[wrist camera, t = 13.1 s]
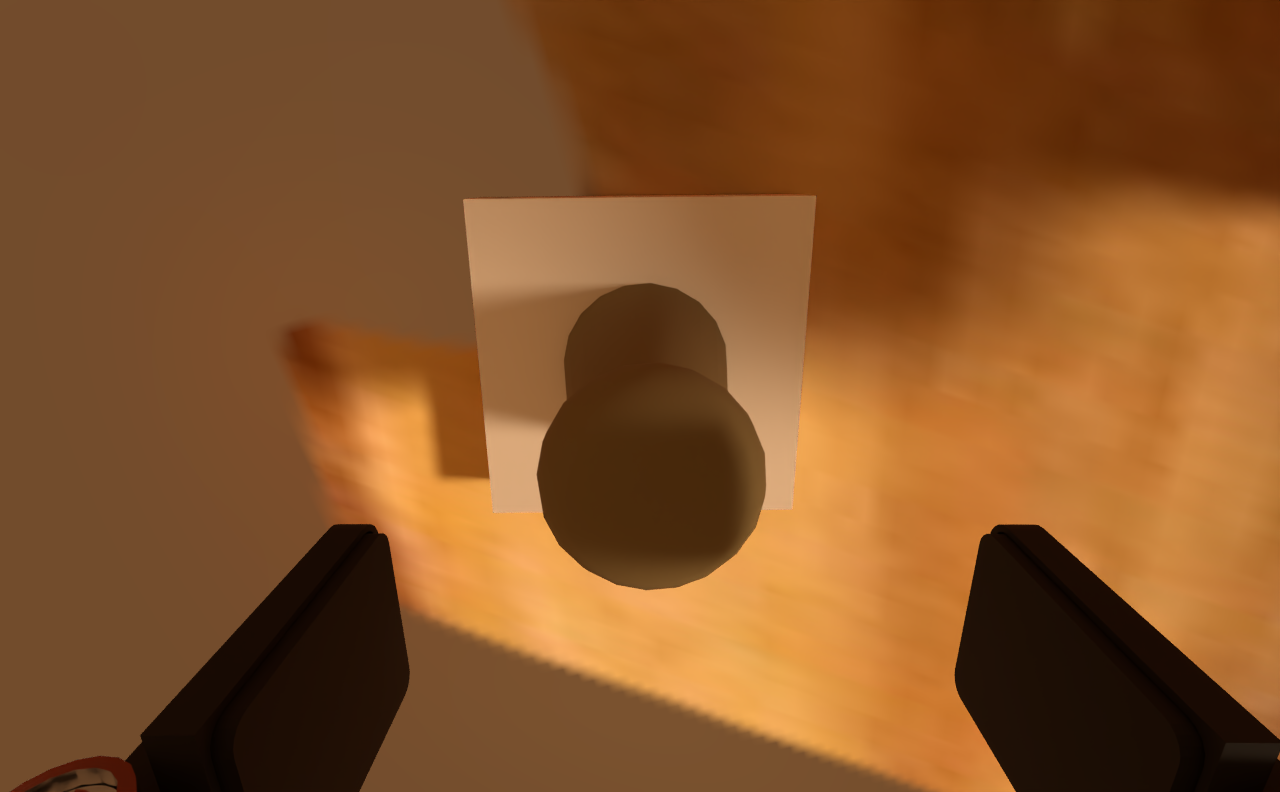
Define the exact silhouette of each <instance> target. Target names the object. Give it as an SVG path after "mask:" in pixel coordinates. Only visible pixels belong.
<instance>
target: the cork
mask: <svg viewBox="0 0 1280 792" xmlns="http://www.w3.org/2000/svg"><path fill="white" fill-rule="evenodd" d="M564 370H565V384H566V397H567V400H566V401H565V402H564V403H563V404H562V406H561V408H560V409H559V411H558V413H557V415H556V416H555V418H554V420H553V422H552V423H551V425H550V427H549V428H548V430H547V432H546V434H545V437H544V439H543V442H542V447H541V452H540V458H539V463H538V469H537V474H536V475H537V481H538V487H539V493H540V499H541V505H542V510H543V515H544V518H545V520H546V522H547V524H548V526H549V527H550V529H551V531H552V533H553V535H554V536H555V538H556V540H557V542H558V544H559V545H560V546H561V547H562V548H563V549H564V550H565V551H566V552H567V553H568V554H569V555H570V556H571V557H573V558H574V559H575V560H576V561H577V562H578V563H579V564H580V565H581V566H582V567H583V568H585V569H586V570H588V571H590V572H592V573H594V574H596V575H598V576H600V577H602V578H604V579H606V580H608V581H610V582H612V583H614V584H616V585H621V586H627V587H632V588H638V589H643V590H653V589H664V588H676V587H680V586H682V585H685V584H688V583H690V582H693V581H696V580H698V579H701V578H704V577H706V576H708V575H709V574H710V573H712V572H713V571H714V570H716V569H717V568H718V567H720V566H721V565H722V564H724V563H725V562H727V561H728V560H729V559H731V558H732V557H733V556H734V555H735V554H737V552H738V551H739V550H740V548H741V547H742V545H743V544H744V543H745V541H746V540H747V539H748V537H749V536H750V534H751V533H752V532H753V530H754V529H755V528H756V525H757V521H758V518H759V515H760V512H761V509H762V506H763V502H764V499H765V493H766V468H765V452H764V450H763V447H762V445H761V442H760V440H759V438H758V435H757V433H756V430H755V428H754V425H753V423H752V421H751V419H750V417H749V415H748V413H747V412H746V411H745V410H744V409H743V408H742V407H741V405H740V404H739V403H738V402H737V401H736V400H735V399H734V398H733V396H732V395H731V394H730V393H729V392H728V384H727V360H726V344H725V342H724V339H723V337H722V335H721V332H720V330H719V327H718V325H717V322H716V321H715V319H714V318H713V317H712V316H711V315H710V314H709V313H708V311H707V310H706V309H705V308H704V307H703V306H702V304H701V303H700V302H699V301H697V300H695V299H693V298H692V297H690V296H688V295H687V294H685V293H683V292H682V291H680V290H678V289H676V288H672V287H667V286H662V285H658V284H653V283H646V284H636V285H626V286H622V287H620V288H618V289H616V290H613V291H611V292H609V293H607V294H604V295H602V296H600V297H599V298H598V299H597V300H596V301H594V302H593V303H592V304H591V305H590V306H589V307H588V308H587V309H586V310H584V311H583V312H582V313H581V314H580V316H579V318H578V320H577V322H576V323H575V325H574V327H573V329H572V330H571V332H570V334H569V336H568V341H567V346H566V351H565V357H564Z"/></svg>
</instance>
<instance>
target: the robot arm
mask: <svg viewBox="0 0 1280 792" xmlns="http://www.w3.org/2000/svg"><path fill="white" fill-rule="evenodd" d="M409 674H410V671H409V663H408V657H407V650H406V644H405V638H404V632H403V626H402V620H401V614H400V607H399V601H398V595H397V589H396V583H395V577H394V571H393V564H392V558H391V552H390V546H389V541H388V538H387V536H386V535H385V534H378V531H377V529H376V528H375V526H373V525H372V524H337V525H333V526H332V527H331V528H330V529H329V530H328V531H327V532H326V533H325V534H324V535H323V536H322V537H321V538H320V539H319V541H318V542H317V543H316V544H315V545H314V546H313V547H312V548H311V549H310V550H309V552H308V553H307V554H306V555H305V556H304V557H303V558H302V559H301V560H300V561H299V562H298V564H297V565H296V566H295V567H294V568H293V569H292V570H291V571H290V572H289V573H288V575H287V576H286V577H285V578H284V579H283V580H282V581H281V582H280V583H279V584H278V585H277V587H276V588H275V589H274V590H273V591H272V592H271V593H270V594H269V595H268V596H267V597H266V599H265V600H264V601H263V602H262V603H261V604H260V605H259V606H258V607H257V608H256V609H255V611H254V612H253V613H252V614H251V615H250V616H249V617H248V618H247V619H246V620H245V621H244V623H243V624H242V625H241V626H240V627H239V628H238V629H237V630H236V631H235V632H234V633H233V635H232V636H231V637H230V638H229V639H228V640H227V641H226V642H225V643H224V644H223V646H221V648H220V649H219V650H218V651H217V652H216V653H215V654H214V655H213V656H212V657H211V659H210V660H209V661H208V662H207V663H206V664H205V665H204V666H203V667H202V668H201V670H200V671H199V672H198V673H197V674H196V675H195V676H194V677H193V678H192V679H191V680H190V682H189V683H188V684H187V685H186V686H185V687H184V688H183V689H182V690H181V691H180V692H179V693H178V695H177V696H176V697H175V698H174V699H173V700H172V701H171V702H170V703H169V704H168V705H167V707H166V708H165V709H164V710H163V711H162V712H161V713H160V714H159V715H158V716H157V718H156V719H155V720H154V721H153V722H152V723H151V724H150V725H149V726H148V727H147V729H145V731H144V732H143V733H142V734H141V739H142V743H141V744H140V745H139V746H138V747H137V748H136V749H135V751H134V752H133V753H132V754H131V755H130V756H129V757H128V758H127V759H126V760H125V761H124V760H122V759H121V758H119V757H109V756H96V757H89V758H83V759H78V760H74V761H72V762H69V763H66V764H63V765H60V766H57V767H54V768H51V769H49V770H47V771H45V772H43V773H41V774H39V775H37V776H35V777H33V778H31V779H29V780H28V781H25V782H24V783H22V784H20V785H19V786H17V787H16V788H14V789H13V790H11V791H10V792H359V791H360V789H361V787H362V785H363V783H364V781H365V778H366V776H367V774H368V772H369V770H370V768H371V766H372V764H373V761H374V759H375V757H376V755H377V753H378V751H379V749H380V747H381V745H382V743H383V741H384V738H385V736H386V734H387V732H388V730H389V728H390V726H391V724H392V722H393V719H394V717H395V715H396V713H397V711H398V709H399V707H400V705H401V702H402V701H403V698H404V696H405V694H406V691H407V688H408V683H409ZM955 683H956V688H957V691H958V694H959V696H960V698H961V700H962V702H963V703H964V705H965V707H966V708H967V710H968V712H969V713H970V715H971V717H972V718H973V720H974V722H975V724H976V725H977V727H978V729H979V730H980V732H981V734H982V735H983V737H984V739H985V740H986V742H987V744H988V745H989V747H990V749H991V750H992V752H993V754H994V756H995V757H996V759H997V761H998V762H999V764H1000V766H1001V767H1002V769H1003V771H1004V772H1005V774H1006V776H1007V777H1008V779H1009V781H1010V782H1011V784H1012V786H1013V788H1014V789H1015V791H1016V792H1280V761H1279V760H1278V759H1277V757H1278V755H1279V752H1280V740H1279V739H1278V738H1277V737H1276V736H1275V735H1274V734H1273V733H1272V732H1270V731H1269V730H1268V729H1267V728H1266V727H1265V726H1264V725H1263V724H1261V723H1260V722H1259V721H1258V720H1257V719H1256V718H1255V717H1254V716H1253V715H1251V714H1250V713H1249V712H1248V711H1247V710H1246V709H1245V708H1244V707H1242V706H1241V705H1240V704H1239V703H1238V702H1237V701H1236V700H1235V699H1234V698H1232V697H1231V696H1230V695H1229V694H1228V693H1227V692H1226V691H1225V690H1223V689H1222V688H1221V687H1220V686H1219V685H1218V684H1217V683H1216V682H1215V681H1213V680H1212V679H1211V678H1210V677H1209V676H1208V675H1207V674H1206V673H1205V672H1203V671H1202V670H1201V669H1200V668H1199V667H1198V666H1197V665H1196V664H1194V663H1193V662H1192V661H1191V660H1190V659H1189V658H1188V657H1187V656H1186V655H1184V654H1183V653H1182V652H1181V651H1180V650H1179V649H1178V648H1177V647H1175V646H1174V645H1173V644H1172V643H1171V642H1170V641H1169V640H1168V639H1167V638H1165V637H1164V636H1163V635H1162V634H1161V633H1160V632H1159V631H1158V630H1156V629H1155V628H1154V627H1153V626H1152V625H1151V624H1150V623H1149V622H1148V621H1146V620H1145V619H1144V618H1143V617H1142V616H1141V615H1140V614H1139V613H1137V612H1136V611H1135V610H1134V609H1133V608H1132V607H1131V606H1130V605H1129V604H1127V603H1126V602H1125V601H1124V600H1123V599H1122V598H1121V597H1120V596H1118V595H1117V594H1116V593H1115V592H1114V591H1113V590H1112V589H1111V588H1110V587H1108V586H1107V585H1106V584H1105V583H1104V582H1103V581H1102V580H1101V579H1099V578H1098V577H1097V576H1096V575H1095V574H1094V573H1093V572H1092V571H1091V570H1089V569H1088V568H1087V567H1086V566H1085V565H1084V564H1083V563H1082V562H1080V561H1079V560H1078V559H1077V558H1076V557H1075V556H1074V555H1073V554H1072V553H1070V552H1069V551H1068V550H1067V549H1066V548H1065V547H1064V546H1063V545H1061V544H1060V543H1059V542H1058V541H1057V540H1056V539H1055V538H1054V537H1053V536H1051V535H1050V534H1049V533H1048V532H1047V531H1046V530H1045V529H1044V528H1042V527H1040V526H1039V525H997V526H995V527H994V528H993V529H992V531H991V534H985V535H983V537H982V538H981V541H980V544H979V549H978V554H977V560H976V565H975V570H974V575H973V580H972V585H971V590H970V596H969V601H968V606H967V611H966V616H965V621H964V626H963V632H962V637H961V642H960V647H959V652H958V657H957V662H956V668H955Z"/></svg>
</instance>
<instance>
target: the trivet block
mask: <svg viewBox="0 0 1280 792" xmlns="http://www.w3.org/2000/svg"><path fill="white" fill-rule="evenodd" d="M816 197H817V196H815V195H801V194H752V195H653V196H557V197H556V196H555V197H481V198H470V199H463V204H464V215H465V225H466V235H467V245H468V256H469V267H470V277H471V287H472V297H473V308H474V318H475V329H476V340H477V350H478V361H479V371H480V382H481V392H482V403H483V413H484V423H485V434H486V444H487V455H488V465H489V476H490V486H491V496H492V507H493V513H532V512H543V510H542V505H541V499H540V493H539V487H538V481H537V475H536V474H537V469H538V463H539V458H540V452H541V447H542V442H543V439H544V437H545V434H546V432H547V430H548V428H549V427H550V425H551V423H552V422H553V420H554V418H555V416H556V415H557V413H558V411H559V409H560V408H561V406H562V404H563V403H564V402H565V401H566V400H567V397H566V384H565V370H564V357H565V351H566V346H567V341H568V336H569V334H570V332H571V330H572V329H573V327H574V325H575V323H576V322H577V320H578V318H579V316H580V314H581V313H582V312H583V311H584V310H586V309H587V308H588V307H589V306H590V305H591V304H592V303H593V302H594V301H596V300H597V299H598V298H599V297H600V296H602V295H604V294H607V293H609V292H611V291H613V290H616V289H618V288H620V287H622V286H626V285H636V284H646V283H653V284H658V285H662V286H667V287H672V288H676V289H678V290H680V291H682V292H683V293H685V294H687V295H688V296H690V297H692V298H693V299H695V300H697V301H699V302H700V303H701V304H702V306H703V307H704V308H705V309H706V310H707V311H708V313H709V314H710V315H711V316H712V317H713V318H714V319H715V321H716V322H717V325H718V327H719V330H720V332H721V335H722V337H723V339H724V342H725V344H726V360H727V384H728V392H729V393H730V394H731V395H732V396H733V398H734V399H735V400H736V401H737V402H738V403H739V404H740V405H741V407H742V408H743V409H744V410H745V411H746V412H747V413H748V415H749V417H750V419H751V421H752V423H753V425H754V428H755V430H756V433H757V435H758V438H759V440H760V442H761V445H762V447H763V450H764V452H765V468H766V493H765V499H764V502H763V506H762V509H761V510H787V509H792V507H793V494H794V481H795V468H796V455H797V442H798V429H799V416H800V404H801V391H802V378H803V365H804V352H805V339H806V326H807V313H808V300H809V287H810V274H811V261H812V248H813V235H814V223H815V210H816Z"/></svg>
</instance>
